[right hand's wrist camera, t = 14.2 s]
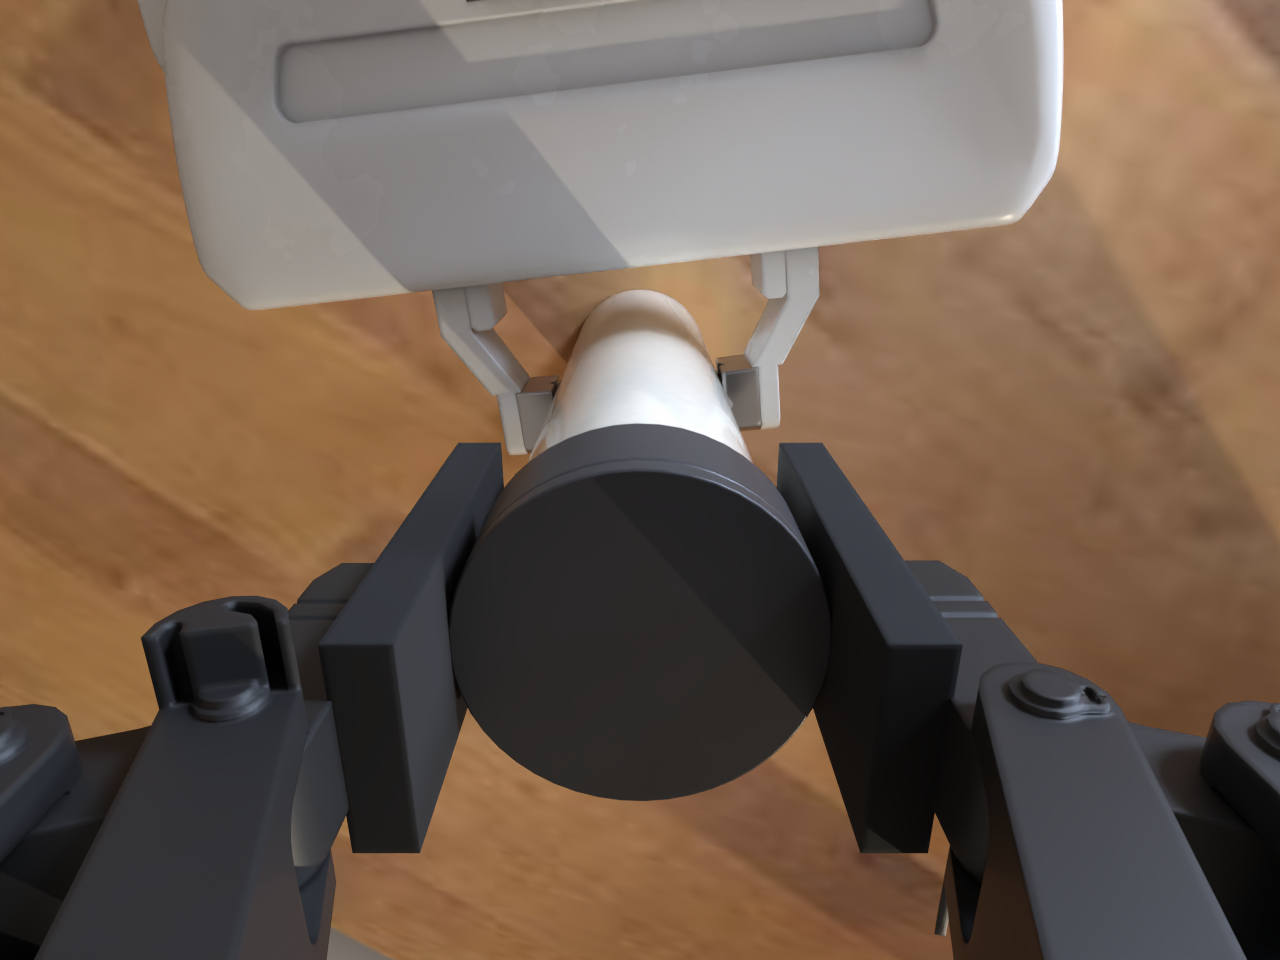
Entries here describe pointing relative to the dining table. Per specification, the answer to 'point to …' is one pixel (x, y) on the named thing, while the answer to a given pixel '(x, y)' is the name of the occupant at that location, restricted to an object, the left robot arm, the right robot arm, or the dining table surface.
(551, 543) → the lid
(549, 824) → the dining table surface
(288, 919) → the right robot arm
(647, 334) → the slim white bottle
